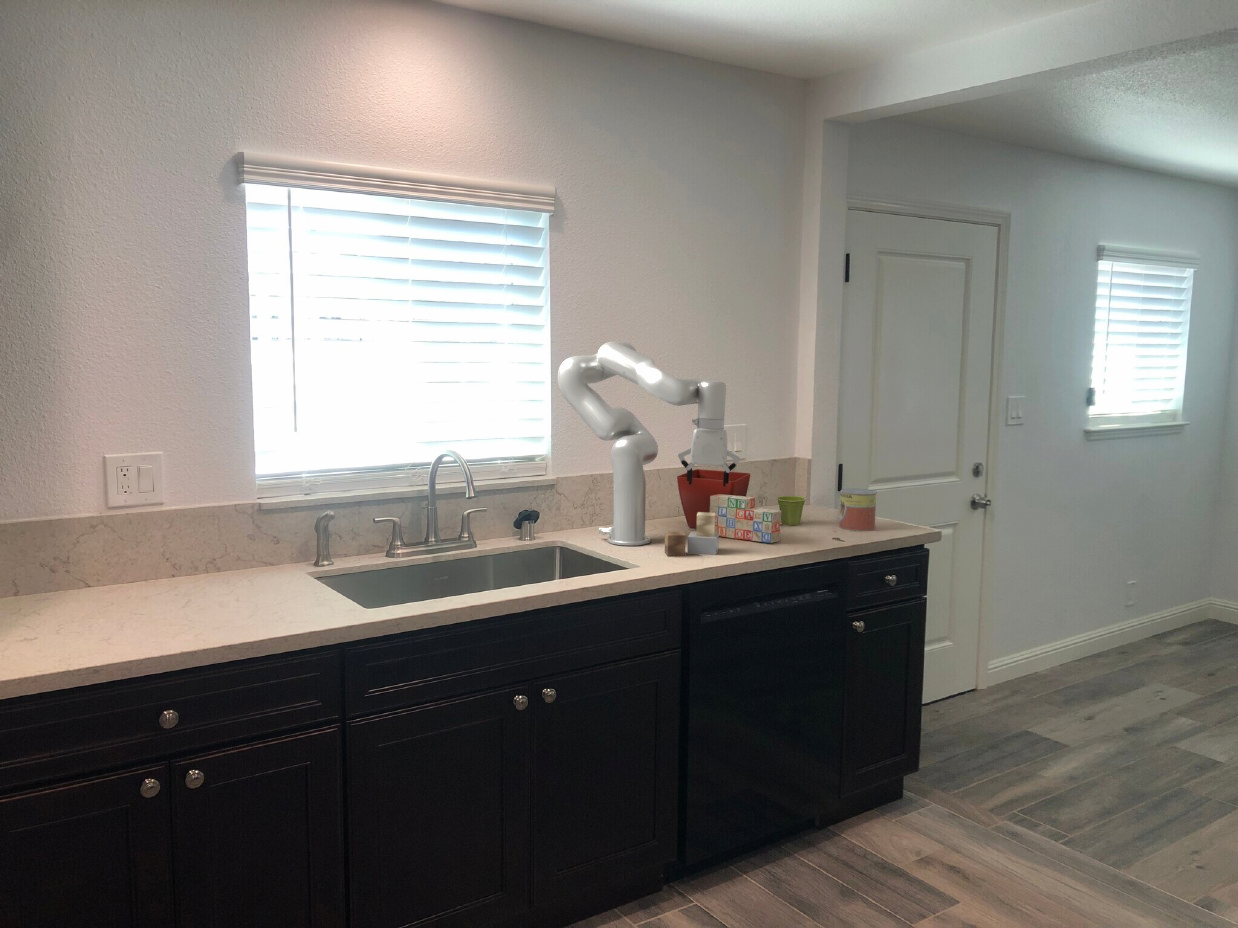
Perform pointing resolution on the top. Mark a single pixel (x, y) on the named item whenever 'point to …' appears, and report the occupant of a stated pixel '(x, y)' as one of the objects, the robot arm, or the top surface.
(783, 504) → the plant pot
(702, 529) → the maple cube
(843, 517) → the canned food
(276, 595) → the top surface
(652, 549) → the top surface
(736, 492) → the plant pot
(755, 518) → the stack of blocks
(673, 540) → the walnut cube
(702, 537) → the stone block
